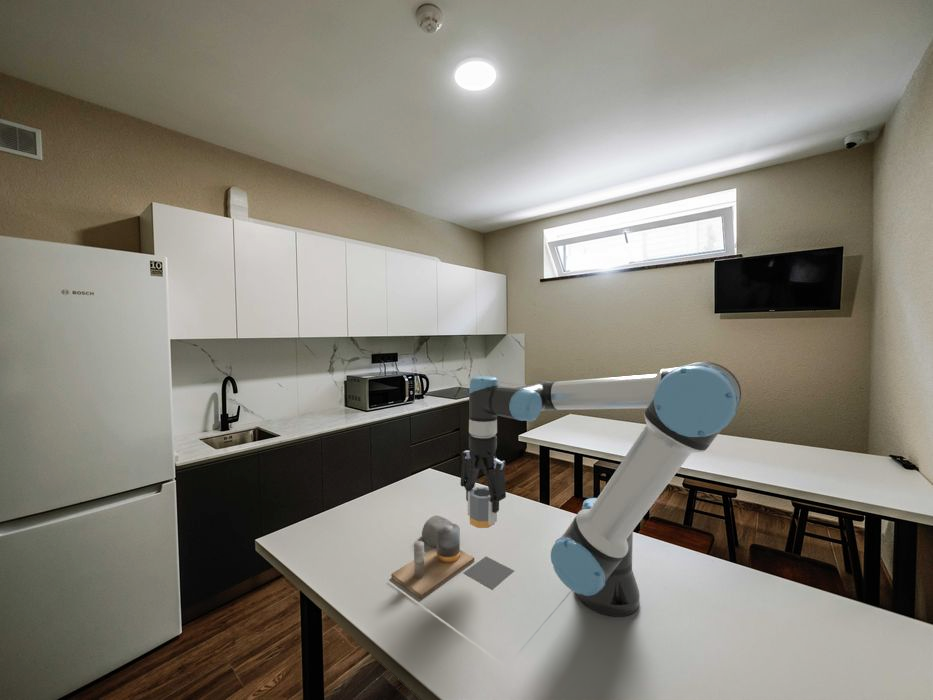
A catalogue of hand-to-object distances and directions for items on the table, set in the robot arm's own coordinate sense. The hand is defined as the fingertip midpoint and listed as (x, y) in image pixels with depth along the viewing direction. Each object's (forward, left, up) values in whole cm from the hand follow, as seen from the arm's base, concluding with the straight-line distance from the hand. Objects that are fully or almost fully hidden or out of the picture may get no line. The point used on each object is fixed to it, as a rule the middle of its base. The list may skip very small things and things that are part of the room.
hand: (481, 517), depth 100 cm
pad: (-1, -1, -15) cm, 15 cm away
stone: (+20, -4, -16) cm, 26 cm away
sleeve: (0, 0, -1) cm, 1 cm away
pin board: (+11, +8, -15) cm, 20 cm away
